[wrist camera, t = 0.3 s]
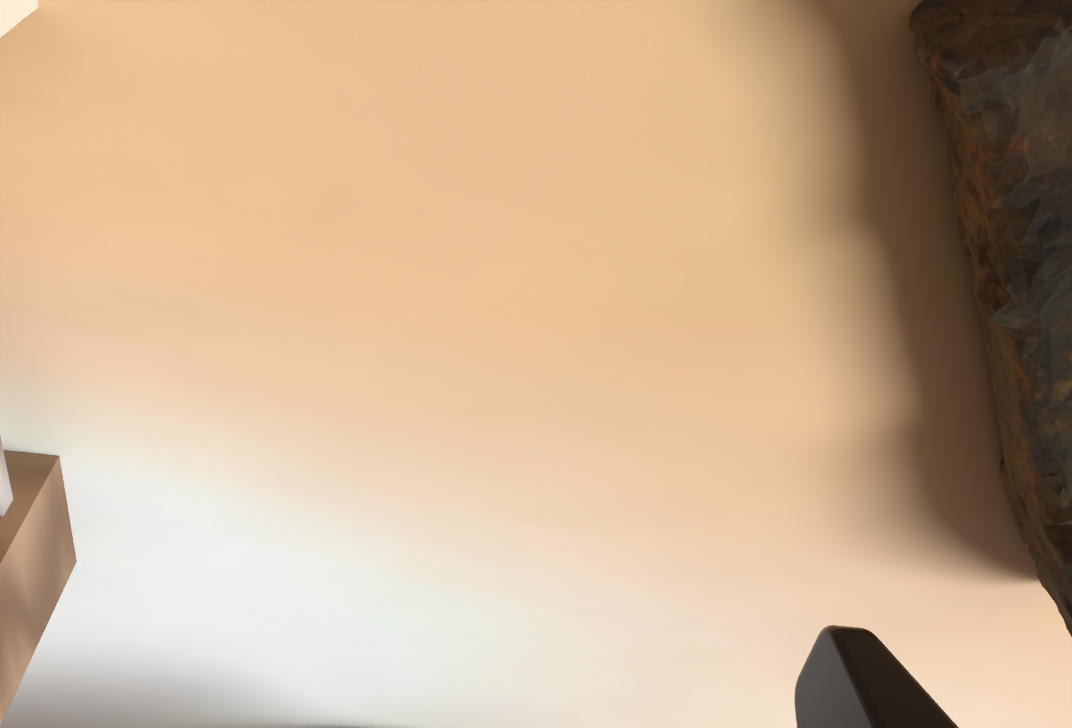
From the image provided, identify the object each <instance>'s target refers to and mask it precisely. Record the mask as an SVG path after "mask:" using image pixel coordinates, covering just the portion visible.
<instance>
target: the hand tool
mask: <svg viewBox="0 0 1072 728" xmlns="http://www.w3.org/2000/svg"><path fill="white" fill-rule="evenodd" d="M910 29H911V31H912V32H913V33H914V34H915V35H916V37H917V39H916V42H915V47H914V50H915V53H916V55H917V58H918V60H919V62H920V63H921V64H922V65H923V66H924V67H925V68H926V69H927V70H928V71H929V72H930V73H931V74H932V75H931V82H932V92H931V106H932V110H933V111H934V112H935V113H936V114H937V115H938V116H939V117H940V118H942V119H943V120H944V121H945V122H946V123H947V125H948V134H949V152H950V160H951V167H952V172H953V198H954V201H955V204H956V207H957V209H958V212H959V217H958V226H959V232H960V237H961V242H962V248H963V252H964V255H966V256H971V262H972V271H973V284H974V289H973V291H972V292H973V295H974V298H975V301H976V305H977V309H978V314H979V319H980V325H981V330H982V335H983V340H984V346H985V351H986V356H987V362H988V367H989V372H990V378H991V383H992V388H993V395H994V404H995V410H996V415H997V420H998V425H999V429H1000V434H1001V444H1002V449H1003V454H1004V458H1003V459H1002V460H1001V461H1000V463H999V465H1000V470H1001V474H1002V478H1003V481H1004V485H1005V489H1006V492H1007V496H1008V499H1009V502H1010V505H1011V508H1012V511H1013V514H1014V517H1015V520H1016V524H1017V526H1018V528H1019V530H1020V533H1021V535H1022V538H1023V541H1024V542H1025V543H1026V544H1028V547H1029V551H1030V553H1031V555H1032V557H1033V560H1034V562H1035V566H1036V569H1037V571H1038V578H1039V580H1040V582H1041V585H1042V586H1043V587H1044V588H1045V589H1046V591H1047V592H1048V593H1049V595H1050V596H1051V597H1052V599H1053V600H1054V602H1055V603H1056V605H1057V608H1058V610H1059V612H1060V614H1061V615H1062V617H1063V619H1064V621H1065V624H1066V627H1067V629H1068V631H1069V633H1070V634H1071V636H1072V0H923V1H922V2H921V3H920V4H919V5H918V6H917V7H916V8H915V9H914V10H913V11H912V13H911V17H910Z"/></svg>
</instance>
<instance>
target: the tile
mask: <svg viewBox="0 0 1072 728" xmlns="http://www.w3.org/2000/svg"><path fill="white" fill-rule="evenodd" d="M37 7H38V1H37V0H0V38H1V37H2V36H3V35H4V34H6V33H7V32H8V31H9V30H10V29H12V28H13V27H14V26H15V25H17V24H18V23H19V22H20V21H21V20H23V19H24V18H25V17H26V16H28V15H29V14H30V13H31V12H33V11H34V10H35V9H36V8H37Z"/></svg>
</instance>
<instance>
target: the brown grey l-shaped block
mask: <svg viewBox="0 0 1072 728" xmlns="http://www.w3.org/2000/svg"><path fill="white" fill-rule="evenodd" d="M75 563H76V556H75V550H74V544H73V537H72V531H71V525H70V519H69V513H68V507H67V501H66V495H65V488H64V482H63V476H62V470H61V464H60V458H59V456H55V455H45V454H35V453H25V452H15V451H5V450H3V447H2V442H1V437H0V724H1V722H2V720H3V718H4V716H5V713H6V711H7V709H8V707H9V705H10V703H11V701H12V698H13V696H14V694H15V692H16V690H17V688H18V686H19V683H20V681H21V679H22V677H23V675H24V673H25V671H26V668H27V666H28V664H29V662H30V660H31V658H32V656H33V653H34V651H35V649H36V647H37V645H38V643H39V641H40V638H41V636H42V634H43V632H44V630H45V628H46V626H47V623H48V621H49V619H50V617H51V615H52V613H53V611H54V608H55V606H56V604H57V602H58V600H59V598H60V596H61V593H62V591H63V589H64V587H65V585H66V583H67V581H68V578H69V576H70V574H71V572H72V570H73V568H74V566H75Z"/></svg>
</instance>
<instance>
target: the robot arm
mask: <svg viewBox="0 0 1072 728" xmlns="http://www.w3.org/2000/svg"><path fill="white" fill-rule="evenodd" d="M795 711H796V721H797V728H959V727H958V726H957V725H956V724H955V723H954V722H953V721H952V720H951V719H950V718H949V716H948V715H947V714H946V713H945V712H944V711H943V710H942V709H941V708H940V706H939V705H938V704H937V703H936V702H935V701H934V700H933V699H932V698H931V696H930V695H929V694H928V693H927V692H926V691H925V690H924V689H923V688H922V686H921V685H920V684H919V683H918V682H917V681H916V680H915V679H914V678H913V676H912V675H911V674H910V673H909V672H908V671H907V670H906V669H905V668H904V666H903V665H902V664H901V663H900V662H899V661H898V660H897V659H896V658H895V656H894V655H893V654H892V653H891V652H890V651H889V650H888V649H887V648H886V646H885V645H884V644H883V643H882V642H881V641H880V640H879V639H878V638H877V637H876V636H875V635H874V634H873V633H872V632H870V631H869V630H866V629H863V628H855V627H845V626H835V625H831V626H827V627H825V628H824V629H823V630H822V631H821V632H820V634H819V636H818V638H817V640H816V642H815V644H814V646H813V648H812V650H811V652H810V654H809V656H808V658H807V660H806V662H805V664H804V667H803V669H802V671H801V673H800V675H799V677H798V680H797V683H796V688H795Z"/></svg>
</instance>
